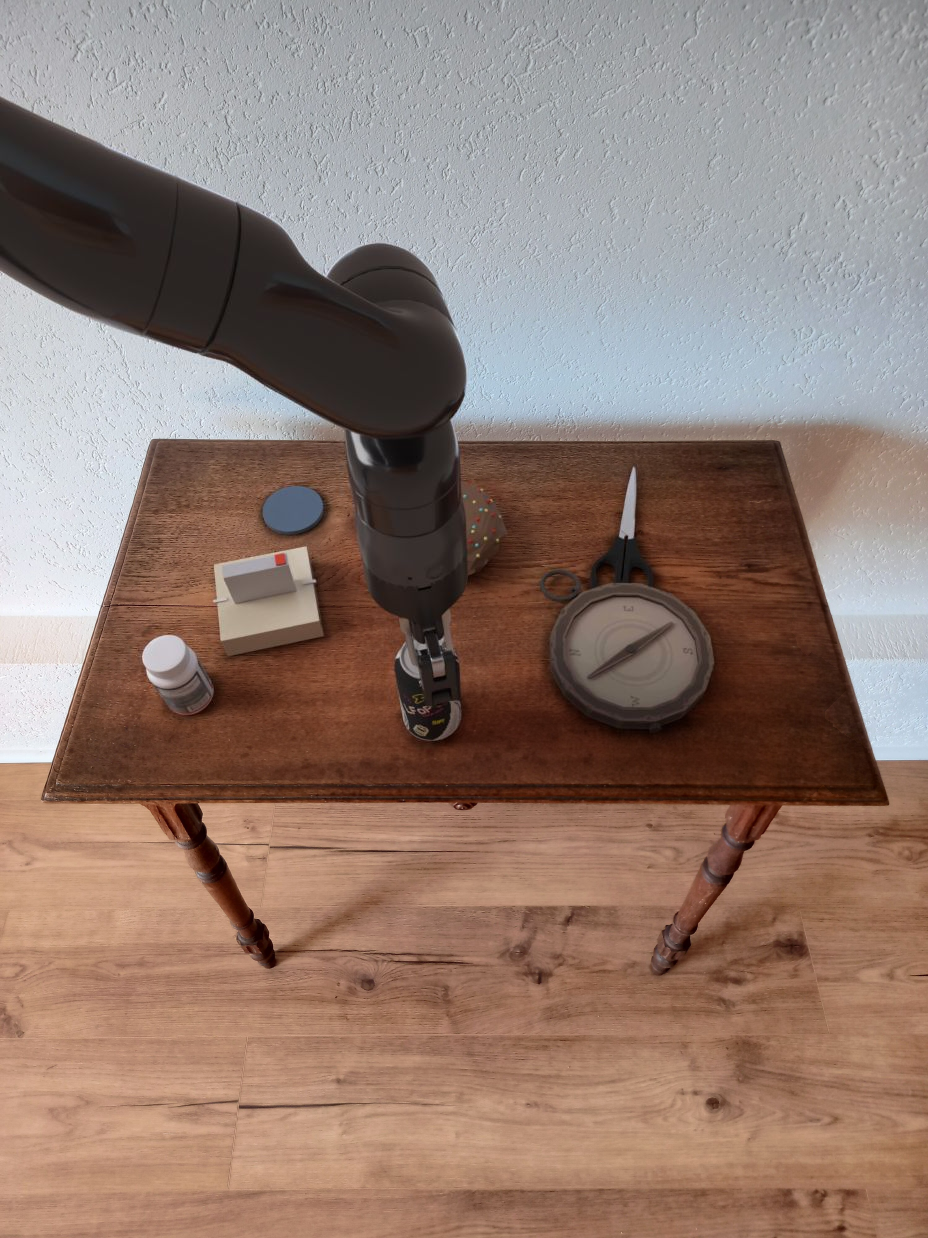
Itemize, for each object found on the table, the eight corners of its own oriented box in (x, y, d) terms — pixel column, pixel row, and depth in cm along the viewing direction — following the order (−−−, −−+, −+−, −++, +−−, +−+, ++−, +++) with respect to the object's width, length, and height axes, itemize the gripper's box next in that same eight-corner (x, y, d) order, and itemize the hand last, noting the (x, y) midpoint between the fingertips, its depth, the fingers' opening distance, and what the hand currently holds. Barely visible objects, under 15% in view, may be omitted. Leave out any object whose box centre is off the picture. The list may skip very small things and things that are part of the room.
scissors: (602, 466, 97) (587, 602, 86) (603, 461, 96) (588, 598, 85) (658, 472, 96) (650, 611, 86) (659, 467, 95) (652, 606, 85)
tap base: (224, 657, 83) (216, 641, 81) (217, 581, 89) (209, 563, 86) (327, 635, 85) (322, 619, 82) (314, 562, 90) (309, 544, 87)
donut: (365, 578, 89) (359, 549, 85) (402, 487, 96) (398, 457, 92) (491, 604, 86) (491, 576, 82) (519, 510, 94) (521, 480, 90)
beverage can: (396, 737, 78) (384, 676, 68) (412, 686, 81) (402, 621, 71) (454, 749, 77) (450, 689, 67) (467, 697, 80) (465, 633, 70)
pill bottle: (171, 675, 82) (143, 630, 75) (218, 674, 82) (193, 630, 75) (162, 716, 80) (132, 675, 73) (210, 716, 80) (184, 674, 73)
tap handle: (234, 604, 83) (222, 576, 79) (233, 591, 84) (220, 564, 80) (297, 591, 84) (288, 563, 80) (295, 579, 85) (286, 551, 81)
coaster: (266, 540, 92) (265, 536, 91) (260, 495, 96) (259, 491, 95) (327, 528, 93) (327, 524, 92) (319, 484, 96) (318, 480, 96)
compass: (730, 727, 78) (736, 718, 76) (563, 745, 77) (565, 736, 76) (679, 559, 89) (683, 548, 87) (532, 574, 88) (533, 563, 86)
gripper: (343, 477, 60) (369, 601, 73) (378, 635, 52) (400, 741, 66) (442, 458, 60) (450, 584, 74) (491, 611, 53) (489, 721, 66)
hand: (426, 658), depth 70 cm, fingers open, 8 cm apart
